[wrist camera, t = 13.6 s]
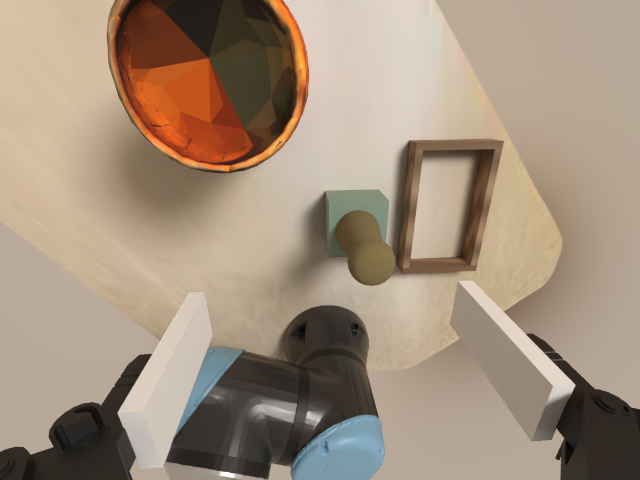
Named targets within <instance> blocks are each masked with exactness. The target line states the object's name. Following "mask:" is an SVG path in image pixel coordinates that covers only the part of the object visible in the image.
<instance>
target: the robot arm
mask: <svg viewBox="0 0 640 480" xmlns="http://www.w3.org/2000/svg"><path fill="white" fill-rule="evenodd" d="M450 324H451V326H452V327H453V329H454V330H455V331H456V333H457V334H458V336H459V337H460V339H461V340H462V341H463V343H464V344H465V346H466V347H467V349H468V350H469V351H470V353H471V354H472V356H473V358H474V359H475V360H476V362H477V363H478V365H479V366H480V368H481V369H482V371H483V372H484V373H485V375H486V376H487V378H488V379H489V381H490V382H491V384H492V385H493V386H494V388H495V389H496V391H497V392H498V394H499V395H500V397H501V398H502V400H503V401H504V402H505V404H506V405H507V407H508V408H509V410H510V411H511V412H512V414H513V415H514V417H515V418H516V420H517V421H518V423H519V424H520V426H521V427H522V428H523V430H524V431H525V433H526V434H527V436H528V437H529V439H530V440H531V441H542V440H551V439H552V437H553V435H554V433H555V430H556V428H557V429H558V431H559V432H560V433H561V434H562V436H563V437H564V440H563V442H562V444H561V447H560V449H559V451H558V453H557V455H556V459H557V460H560V457H561V480H640V409H635V408H631V407H630V406H629V405H628V404H627V403H626V402H624V401H623V400H621V399H620V398H619V397H617V396H615V395H613V394H611V393H609V392H606V391H602V390H599V389H594V388H593V387H592V386H591V385H590V384H589V383H588V382H587V381H586V380H585V379H584V378H583V377H582V376H581V375H580V374H579V373H577V371H575V370H574V369H573V368H572V367H571V366H570V365H569V364H568V363H567V362H566V361H564V360H563V358H562V357H561V356H560V355H559V354H558V353H555V351H554V349H553V348H552V347H550V346H549V345H548V344H547V343H546V342H545V341H544V340H542V339H540V338H539V337H537V336H535V335H534V334H525V333H524V332H523V331H522V330H521V329H520V328H519V327H518V326H517V325H516V324H515V323H514V322H513V321H512V320H511V319H510V318H509V317H508V316H507V315H506V314H505V313H504V312H503V311H502V310H501V309H500V308H499V307H498V306H497V305H496V304H495V303H494V302H493V301H492V300H491V299H490V298H489V297H488V296H487V295H486V294H485V293H484V292H483V291H482V290H481V289H480V288H479V287H478V286H477V285H476V284H475V283H474V282H473V281H458V285H457V290H456V295H455V300H454V305H453V311H452V316H451V321H450ZM212 336H213V334H212V329H211V324H210V319H209V314H208V308H207V303H206V298H205V293H204V292H192V293H188V295H187V297H186V298H185V300H184V302H183V303H182V305H181V307H180V308H179V310H178V312H177V313H176V315H175V317H174V319H173V320H172V322H171V324H170V325H169V327H168V329H167V330H166V332H165V334H164V335H163V337H162V339H161V340H160V342H159V344H158V346H157V347H156V349H155V351H154V352H153V354H144V355H139V356H138V357H136V358H135V359H134V360H133V361H132V362H131V363H130V364H129V365H128V366H127V367H126V369H125V370H124V372H123V373H122V375H121V378H119V379H118V381H117V383H116V384H115V387H113V388H112V390H111V392H110V393H109V394H108V396H107V397H106V399H105V400H104V402H103V403H102V405H100V404H98V403H93V402H91V403H84V404H81V405H78V406H76V407H73V408H72V409H70V410H69V411H67V412H65V413H64V414H63V415H62V416H61V417H59V418H58V419H57V420H56V421H55V422H54V424H53V426H52V427H51V429H50V431H49V439H50V441H51V443H52V444H53V446H54V447H53V448H50V449H47V450H44V451H41V452H38V453H35V454H32V455H30V453H29V452H28V451H27V450H26V449H25V448H24V447H13V448H9V449H5V450H3V451H1V452H0V480H132V477H131V474H130V472H129V471H130V469H131V467H132V465H133V463H134V460H135V458H136V461H137V463H138V466H139V468H140V469H143V468H157V467H163V465H164V462H165V459H166V457H167V459H166V462H165V465H164V466H165V469H166V471H167V474H168V476H169V479H170V480H268V477H269V471H270V467H271V464H279V465H284V466H289V467H291V476H292V479H293V480H369V479H371V478H372V477H373V475H375V474H376V472H377V471H378V470H379V468H380V467H381V465H382V462H383V459H384V454H385V446H384V440H383V435H382V424H381V421H380V419H379V417H378V413H377V409H376V405H375V401H374V398H373V394H372V390H371V386H370V383H369V378H368V375H367V371H366V362H367V355H368V348H369V339H368V335H367V331H366V328H365V325H364V323H363V322H362V320H361V319H360V318H359V317H358V316H357V315H356V314H355V313H353V312H352V311H350V310H348V309H345V308H342V307H338V306H319V307H315V308H311V309H309V310H307V311H305V312H303V313H301V314H300V315H298V316H297V317H296V318H295V319H294V320H293V321H292V322H291V324H290V326H289V327H288V329H287V332H286V338H285V352H286V356H287V359H288V361H289V362H285V361H281V360H277V359H273V358H269V357H265V356H261V355H257V354H254V353H250V352H246V351H244V349H240V350H238V349H232V348H227V347H222V346H213V347H210V348H209V349H208V346H209V344H210V341H211V338H212ZM170 446H171V448H170ZM169 449H170V451H169ZM168 452H169V453H168ZM167 454H168V456H167Z"/></svg>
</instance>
